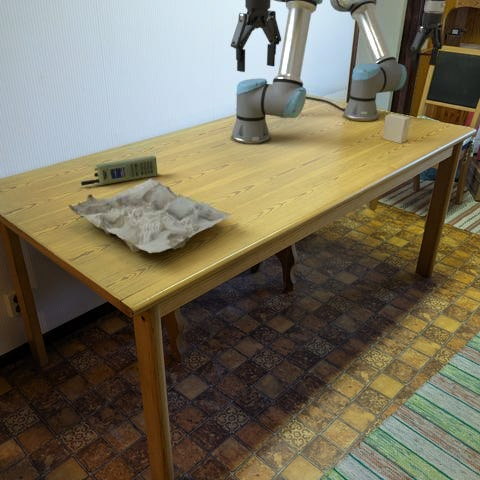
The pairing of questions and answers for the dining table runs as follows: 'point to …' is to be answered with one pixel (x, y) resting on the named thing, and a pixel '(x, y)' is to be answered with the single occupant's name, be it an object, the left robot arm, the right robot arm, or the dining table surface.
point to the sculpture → (149, 216)
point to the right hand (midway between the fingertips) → (423, 67)
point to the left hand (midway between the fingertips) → (256, 68)
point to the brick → (396, 128)
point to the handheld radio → (124, 170)
